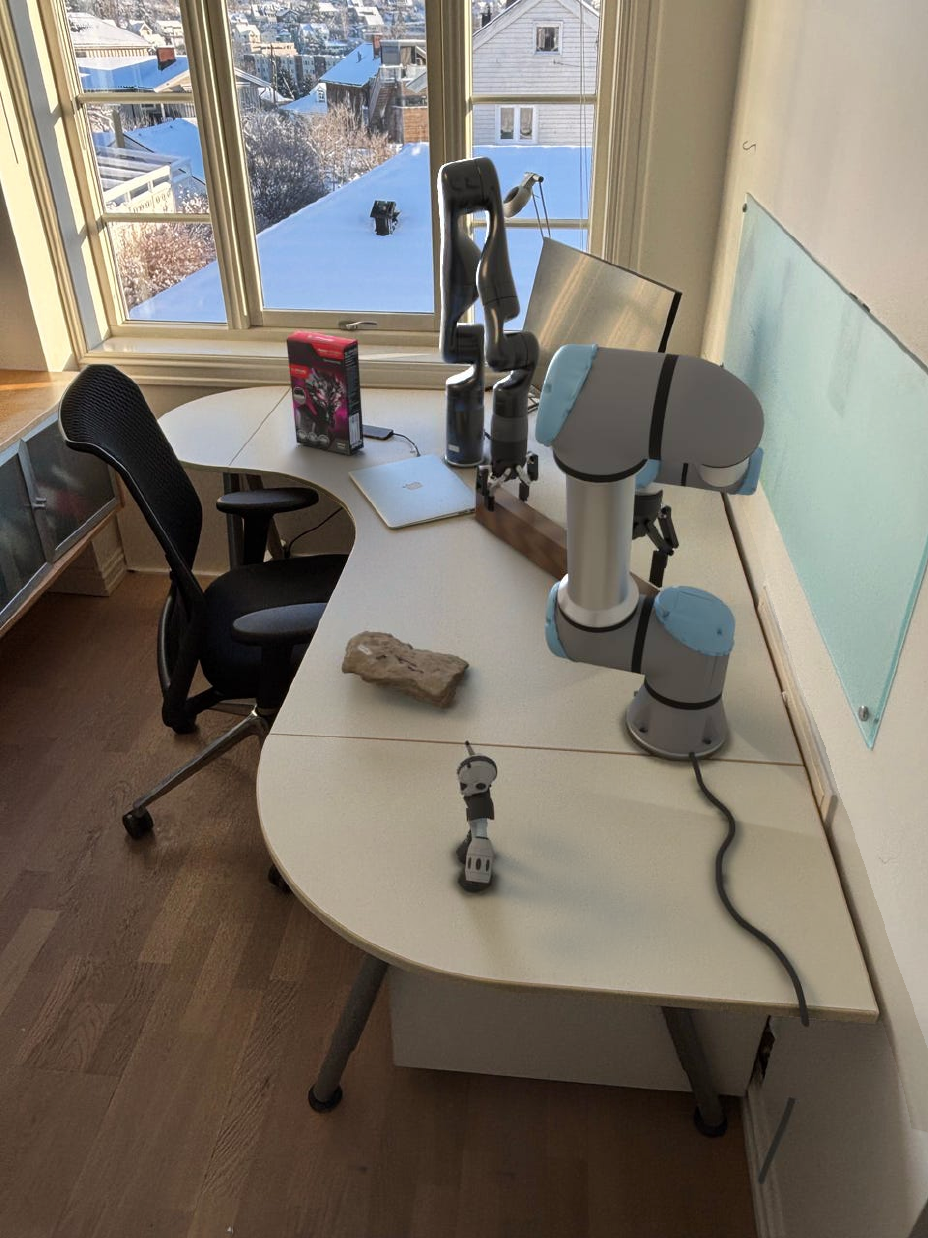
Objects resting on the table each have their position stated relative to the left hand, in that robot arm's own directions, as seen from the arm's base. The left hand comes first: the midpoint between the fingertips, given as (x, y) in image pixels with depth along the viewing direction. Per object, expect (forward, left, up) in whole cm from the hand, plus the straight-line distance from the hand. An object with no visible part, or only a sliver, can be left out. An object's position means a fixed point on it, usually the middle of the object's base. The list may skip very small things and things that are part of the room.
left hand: (506, 505), depth 194 cm
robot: (+91, +17, -6) cm, 93 cm away
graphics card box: (-31, -53, -6) cm, 62 cm away
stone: (+56, -5, -6) cm, 57 cm away
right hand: (+27, +29, -1) cm, 39 cm away
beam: (+13, +14, -6) cm, 20 cm away
